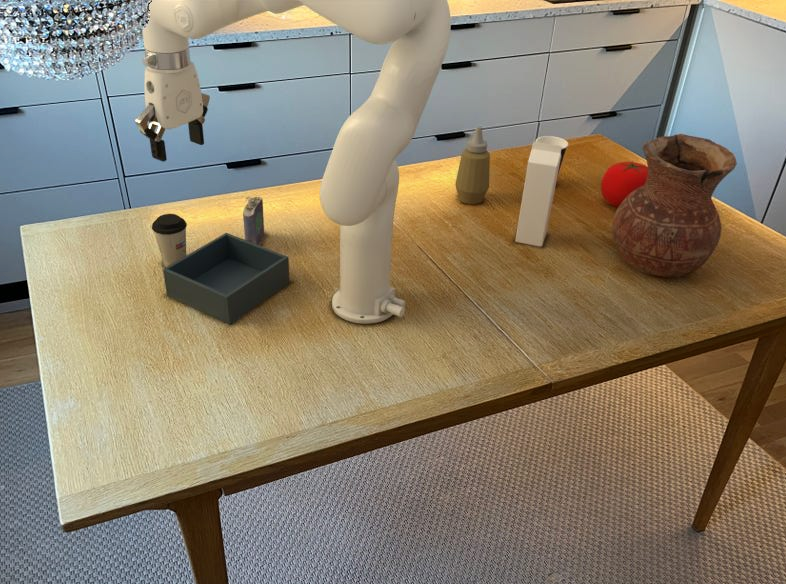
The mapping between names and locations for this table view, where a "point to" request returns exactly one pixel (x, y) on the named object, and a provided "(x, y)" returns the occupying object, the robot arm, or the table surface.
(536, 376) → the table surface
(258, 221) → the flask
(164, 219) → the coffee cup
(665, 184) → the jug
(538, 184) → the milk
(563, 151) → the dixie cup
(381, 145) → the robot arm
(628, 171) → the tomato
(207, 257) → the tub
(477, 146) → the squeeze bottle
